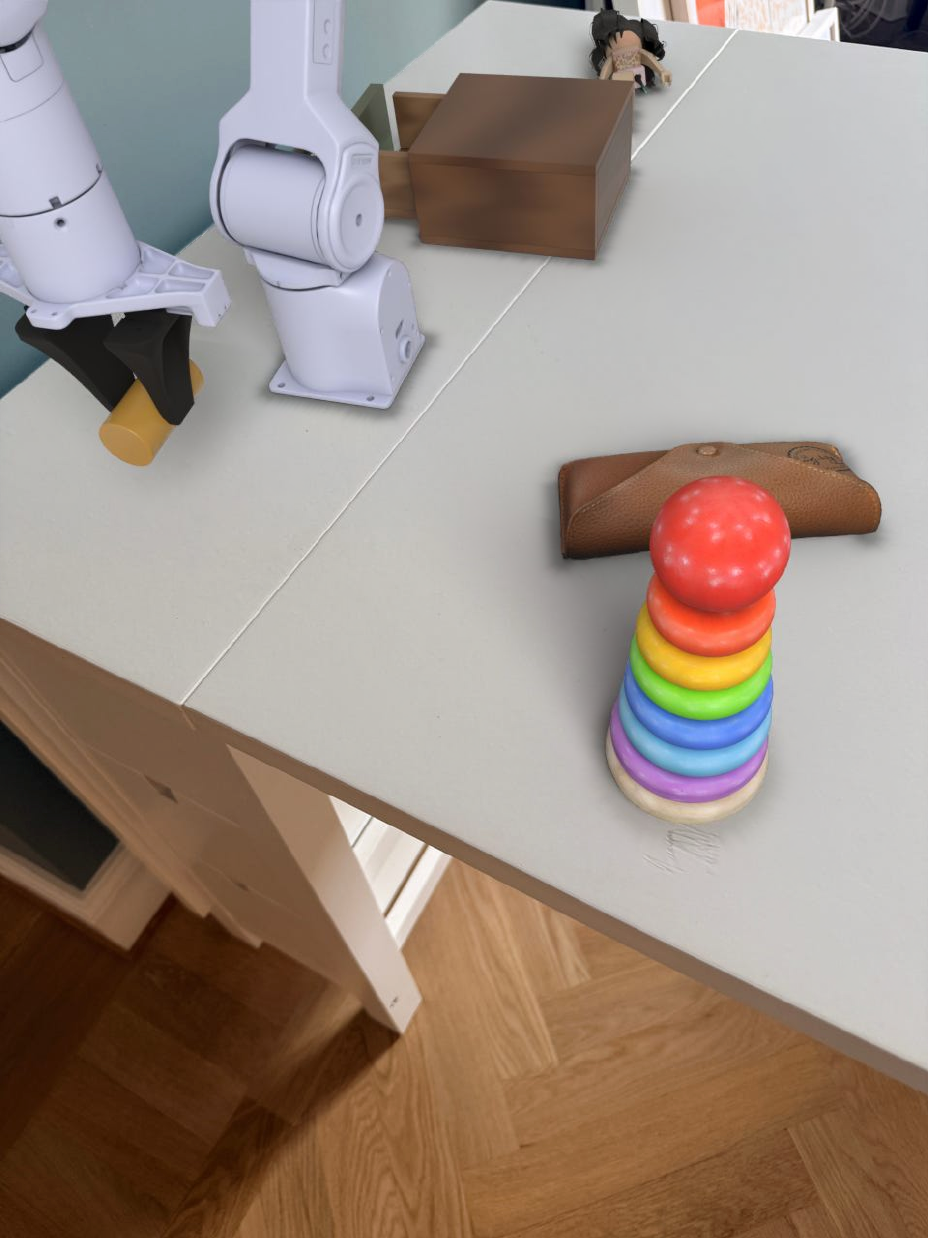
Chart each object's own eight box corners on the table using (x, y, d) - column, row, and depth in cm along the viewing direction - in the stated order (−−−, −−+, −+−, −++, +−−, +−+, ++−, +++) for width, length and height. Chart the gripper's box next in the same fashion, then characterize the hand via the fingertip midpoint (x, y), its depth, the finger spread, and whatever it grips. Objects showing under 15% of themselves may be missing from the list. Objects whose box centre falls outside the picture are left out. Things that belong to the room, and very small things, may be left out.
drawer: (283, 215, 80) (264, 148, 75) (335, 146, 86) (321, 80, 81) (485, 234, 75) (479, 164, 70) (525, 159, 81) (521, 90, 76)
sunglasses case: (837, 435, 58) (876, 402, 52) (851, 546, 58) (892, 526, 51) (551, 464, 60) (553, 434, 53) (561, 572, 59) (564, 556, 52)
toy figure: (681, 129, 83) (658, 45, 91) (678, 58, 78) (654, -25, 86) (601, 148, 84) (585, 63, 93) (593, 79, 79) (577, -5, 87)
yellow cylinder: (211, 395, 56) (193, 352, 53) (160, 470, 53) (139, 429, 50) (165, 387, 57) (145, 345, 54) (112, 461, 53) (88, 420, 51)
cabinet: (421, 243, 77) (406, 152, 71) (469, 161, 83) (459, 72, 77) (595, 260, 73) (595, 165, 67) (630, 173, 79) (634, 80, 73)
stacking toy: (799, 765, 47) (902, 512, 31) (683, 863, 44) (734, 641, 29) (685, 664, 51) (727, 398, 36) (573, 749, 48) (568, 503, 33)
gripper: (-139, 218, 42) (10, 438, 53) (133, 246, 39) (233, 477, 50) (-46, 138, 46) (75, 359, 57) (210, 156, 42) (287, 389, 53)
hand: (153, 408), depth 54 cm, fingers closed on yellow cylinder, 3 cm apart
